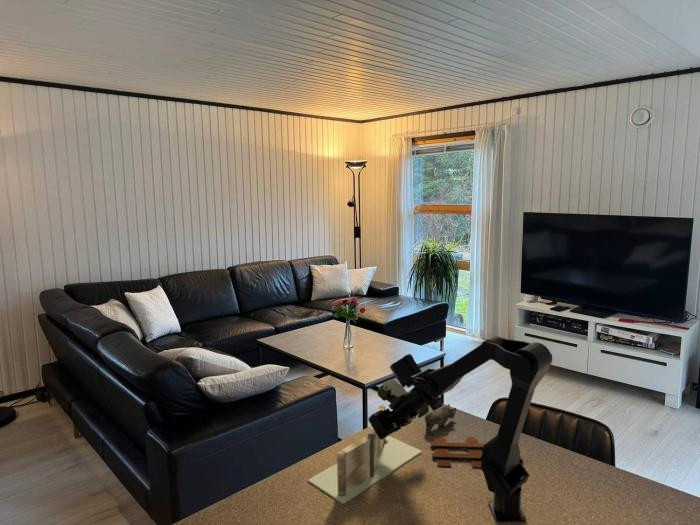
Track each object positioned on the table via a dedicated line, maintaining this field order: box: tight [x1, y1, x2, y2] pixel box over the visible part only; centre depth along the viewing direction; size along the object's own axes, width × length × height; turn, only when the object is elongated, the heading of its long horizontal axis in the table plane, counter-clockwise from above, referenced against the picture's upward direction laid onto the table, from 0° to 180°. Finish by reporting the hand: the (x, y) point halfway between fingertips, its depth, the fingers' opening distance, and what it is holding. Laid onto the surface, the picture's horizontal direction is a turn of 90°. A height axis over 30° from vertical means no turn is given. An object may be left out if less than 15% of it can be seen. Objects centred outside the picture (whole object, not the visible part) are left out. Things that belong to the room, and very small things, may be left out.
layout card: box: [307, 435, 423, 505], centre depth 125 cm, size 30×12×1 cm, turn 135°
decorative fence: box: [430, 435, 524, 470], centre depth 131 cm, size 23×2×15 cm
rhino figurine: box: [424, 403, 457, 436], centre depth 145 cm, size 4×14×6 cm, turn 128°
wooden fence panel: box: [336, 433, 374, 497], centre depth 116 cm, size 12×2×11 cm, turn 135°
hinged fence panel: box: [367, 404, 386, 471], centre depth 129 cm, size 16×2×10 cm, turn 166°
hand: (383, 428), depth 131 cm, fingers closed
